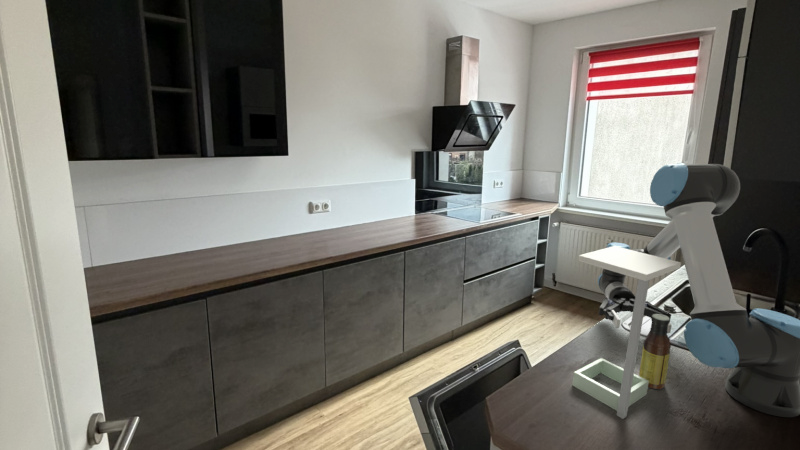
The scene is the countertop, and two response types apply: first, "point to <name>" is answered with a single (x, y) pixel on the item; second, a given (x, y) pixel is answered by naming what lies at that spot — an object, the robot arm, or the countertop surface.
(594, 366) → the frame
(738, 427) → the countertop surface
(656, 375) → the sauce bottle
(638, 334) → the c-shaped side table
